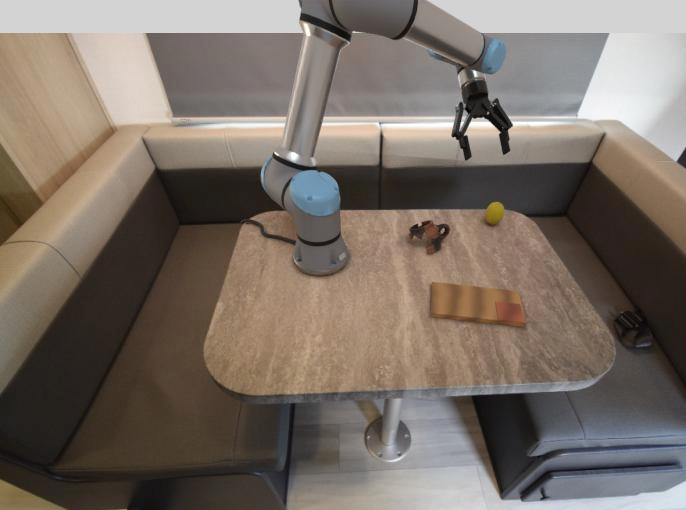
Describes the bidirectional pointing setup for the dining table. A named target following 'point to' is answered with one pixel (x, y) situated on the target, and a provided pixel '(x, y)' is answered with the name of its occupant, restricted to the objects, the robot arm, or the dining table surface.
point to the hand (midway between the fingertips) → (487, 155)
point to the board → (477, 304)
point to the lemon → (494, 213)
